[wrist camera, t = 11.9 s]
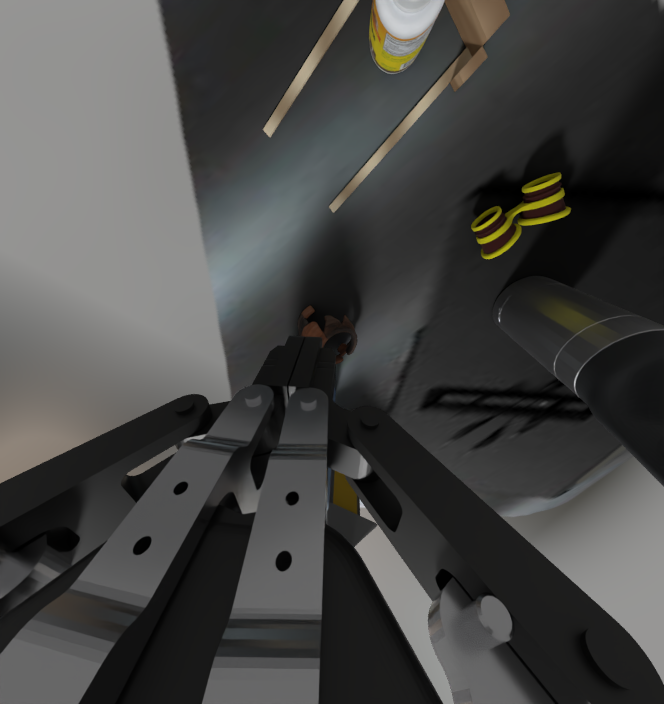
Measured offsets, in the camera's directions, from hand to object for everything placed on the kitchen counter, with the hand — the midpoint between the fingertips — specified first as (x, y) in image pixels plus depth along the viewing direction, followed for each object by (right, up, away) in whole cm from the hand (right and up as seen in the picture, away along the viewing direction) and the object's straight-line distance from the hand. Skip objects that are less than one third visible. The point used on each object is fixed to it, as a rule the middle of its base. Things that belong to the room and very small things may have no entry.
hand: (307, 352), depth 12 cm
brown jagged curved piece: (-1, +4, +32) cm, 32 cm away
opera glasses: (+24, +18, +21) cm, 37 cm away
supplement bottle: (+8, +32, +13) cm, 35 cm away
